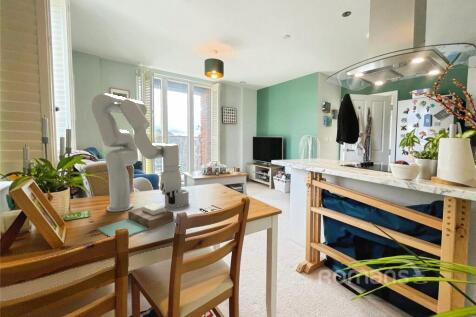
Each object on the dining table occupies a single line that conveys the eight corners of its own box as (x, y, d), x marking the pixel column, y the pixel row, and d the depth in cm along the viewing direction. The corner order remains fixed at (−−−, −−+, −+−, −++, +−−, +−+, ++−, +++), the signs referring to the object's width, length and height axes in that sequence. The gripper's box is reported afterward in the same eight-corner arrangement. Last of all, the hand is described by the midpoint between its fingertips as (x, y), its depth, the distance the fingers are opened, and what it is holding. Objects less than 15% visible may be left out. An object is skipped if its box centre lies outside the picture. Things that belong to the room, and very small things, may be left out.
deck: (128, 219, 102) (128, 210, 102) (151, 211, 112) (151, 204, 111) (150, 229, 92) (150, 220, 91) (173, 220, 101) (173, 212, 101)
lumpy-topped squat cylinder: (190, 203, 126) (190, 189, 125) (170, 209, 117) (169, 193, 116) (181, 199, 133) (181, 186, 132) (161, 204, 124) (161, 189, 123)
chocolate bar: (221, 218, 104) (199, 208, 117) (221, 220, 104) (199, 210, 117) (234, 213, 111) (212, 205, 123) (234, 215, 111) (212, 206, 123)
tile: (142, 210, 103) (142, 206, 102) (153, 207, 108) (153, 203, 107) (153, 214, 97) (153, 210, 97) (164, 211, 102) (164, 207, 102)
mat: (97, 229, 91) (97, 228, 91) (128, 219, 101) (128, 218, 101) (116, 241, 81) (115, 239, 81) (147, 229, 92) (147, 227, 92)
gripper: (178, 166, 117) (178, 199, 119) (153, 169, 105) (154, 206, 107) (187, 167, 113) (187, 201, 115) (162, 171, 100) (163, 209, 103)
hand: (171, 203), depth 111 cm, fingers closed
